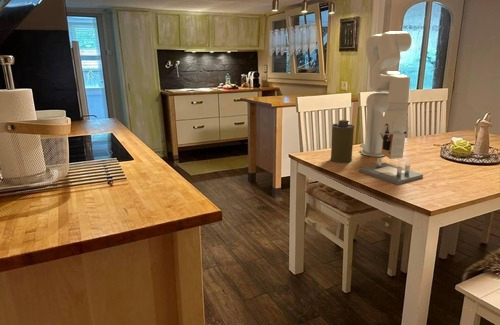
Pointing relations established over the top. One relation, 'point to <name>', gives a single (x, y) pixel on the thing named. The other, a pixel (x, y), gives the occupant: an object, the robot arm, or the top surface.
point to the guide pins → (399, 169)
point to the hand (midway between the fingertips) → (392, 148)
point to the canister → (342, 142)
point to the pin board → (390, 173)
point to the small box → (395, 146)
